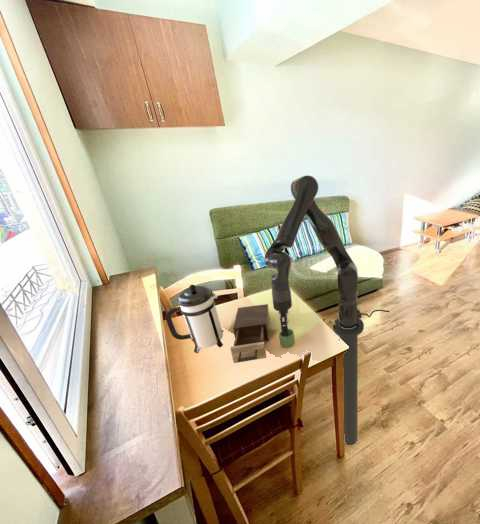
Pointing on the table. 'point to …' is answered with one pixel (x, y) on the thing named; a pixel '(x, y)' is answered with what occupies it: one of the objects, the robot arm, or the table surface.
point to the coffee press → (198, 317)
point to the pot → (287, 339)
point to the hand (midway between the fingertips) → (285, 329)
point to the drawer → (249, 344)
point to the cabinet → (252, 318)
